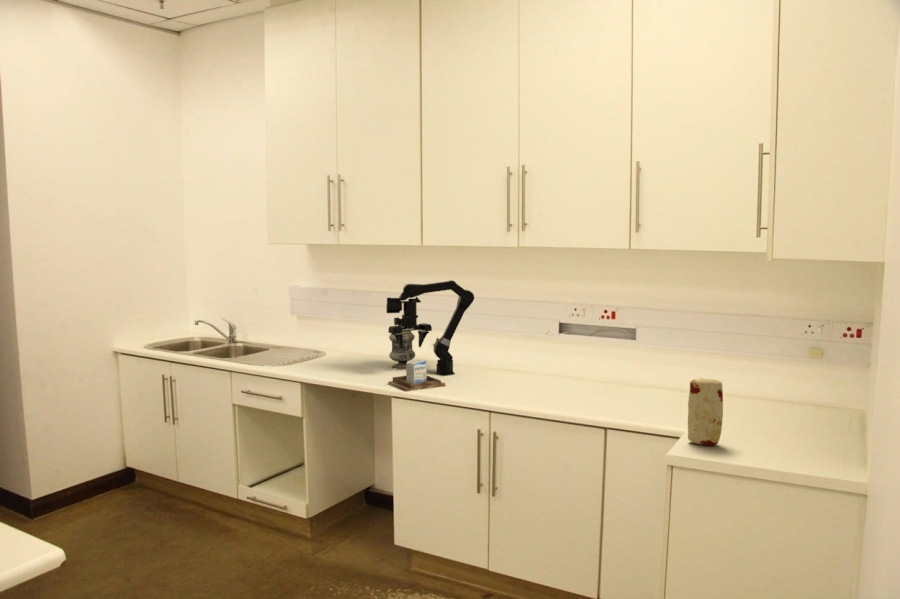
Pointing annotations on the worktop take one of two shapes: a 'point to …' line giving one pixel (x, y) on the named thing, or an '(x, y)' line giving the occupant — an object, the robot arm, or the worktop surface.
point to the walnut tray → (406, 386)
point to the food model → (705, 411)
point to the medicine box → (416, 372)
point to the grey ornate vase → (402, 350)
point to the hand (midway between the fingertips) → (410, 348)
